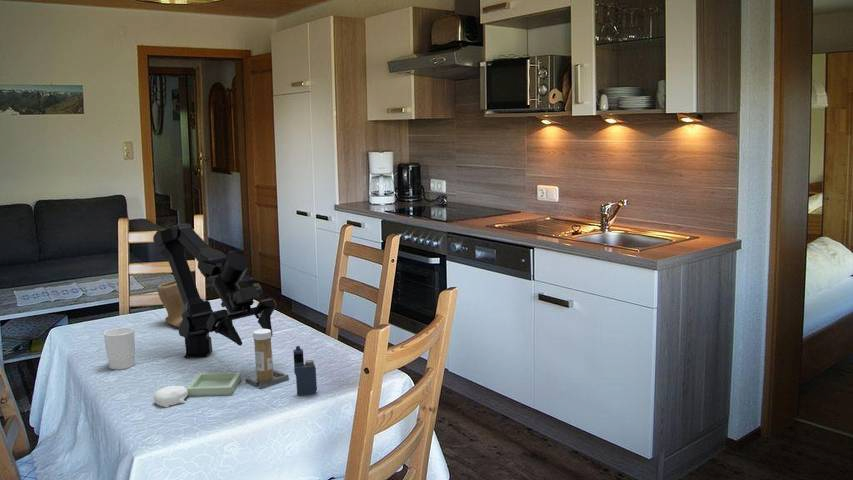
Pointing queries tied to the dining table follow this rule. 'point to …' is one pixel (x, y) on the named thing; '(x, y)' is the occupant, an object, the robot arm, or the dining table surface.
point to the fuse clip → (279, 375)
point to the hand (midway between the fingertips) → (256, 340)
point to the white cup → (120, 347)
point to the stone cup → (171, 302)
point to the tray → (214, 384)
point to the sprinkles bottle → (263, 354)
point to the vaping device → (304, 373)
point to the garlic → (170, 395)
